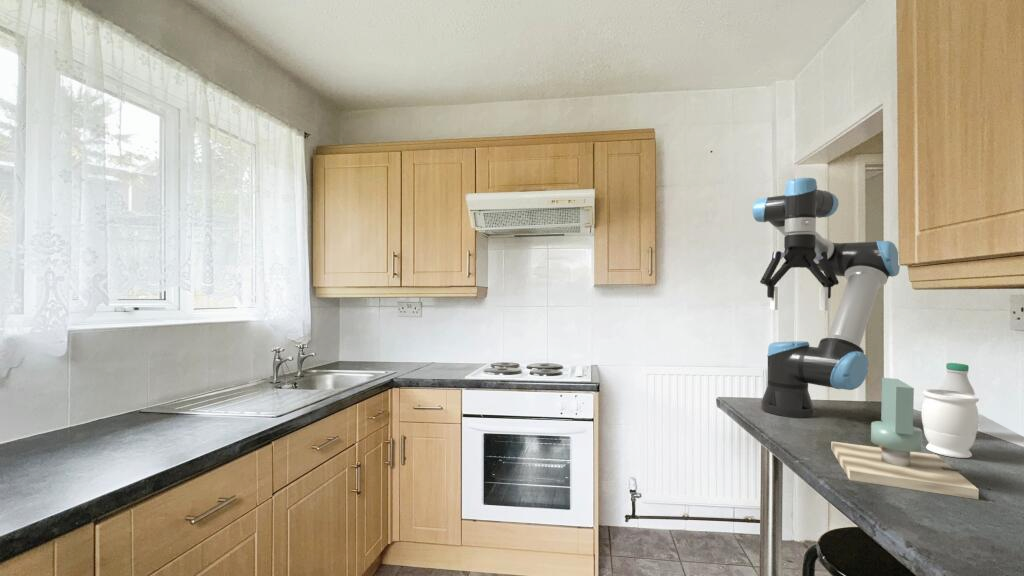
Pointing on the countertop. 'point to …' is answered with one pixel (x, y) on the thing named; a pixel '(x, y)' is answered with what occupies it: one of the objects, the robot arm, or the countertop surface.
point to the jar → (950, 422)
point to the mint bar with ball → (897, 418)
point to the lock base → (902, 469)
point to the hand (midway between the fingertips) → (798, 310)
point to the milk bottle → (957, 379)
